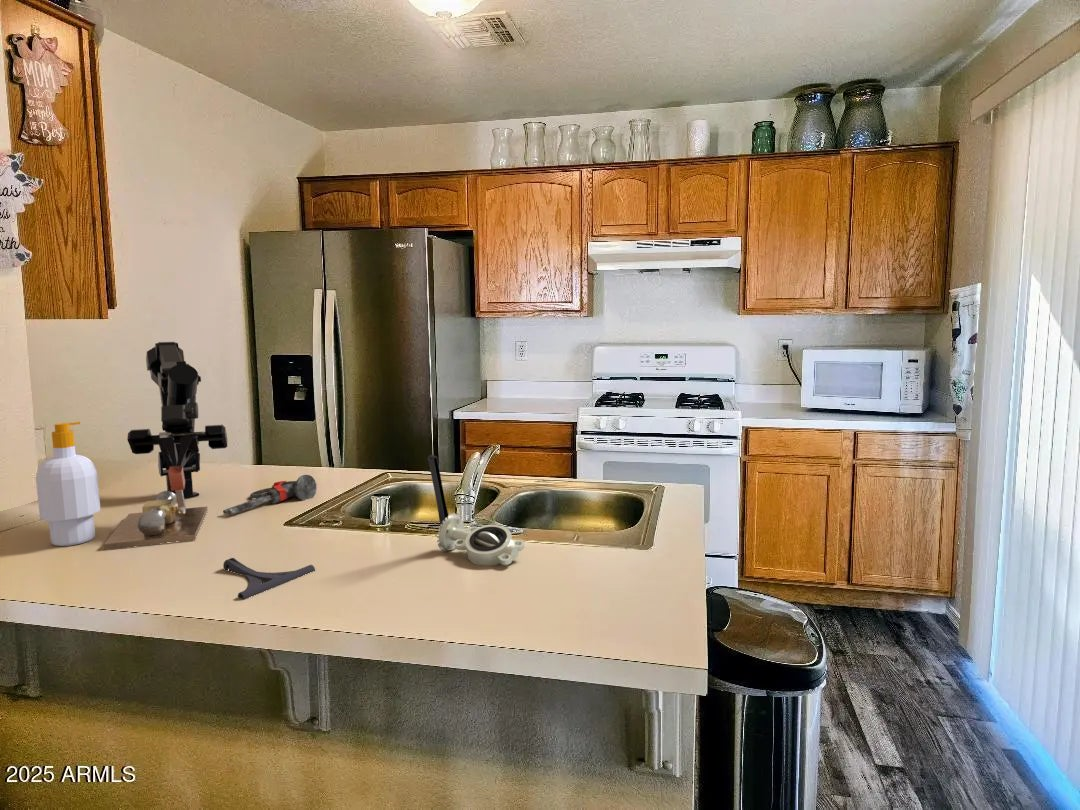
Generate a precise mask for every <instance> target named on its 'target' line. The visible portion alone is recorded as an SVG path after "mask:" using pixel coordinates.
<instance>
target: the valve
mask: <svg viewBox="0 0 1080 810" xmlns="http://www.w3.org/2000/svg"><path fill="white" fill-rule="evenodd" d="M317 488H318V487H317V482H316V479H315V478H314V477H313V476H311V475H310V474H303V475H300V476H299V477H297V479H296V480H291V481H290V480H289V481H287V480H280V481H276V482H273V484H272V486H271V487H268V488H263V489H259V490H256V491H253V492H251V493H250V494H249V497H250V498H252V499H251V500H249V501H246V502H242V503H241V504H237V505H235V506H232V507H229V508H226V509H223V511H222V512H223V514H224V515H227V514H228V516H233V515H235V514H238V513H240V512H242V511H245V510H249V509H250V508H253V507H256V506H259V505H262V504H264V503H267V502H268V503H270V504H279V503H283V502H284V501H286V500H287V499H289V498H290V497H291V498H292V497H294V496H296V497H297V498H298V500H300V501H306V499H307V500H311V499H313V498H314V497H315V495H316V493H317ZM282 501H283V502H282Z"/></svg>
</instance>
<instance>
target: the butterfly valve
mask: <svg viewBox="0 0 1080 810" xmlns="http://www.w3.org/2000/svg"><path fill="white" fill-rule="evenodd" d="M427 460H428V465H429V470H430V471H429V472H430V476H431V481H432V485H433V490H434V495H435V501H436V505H437V506H436V507H437V508H436V509H437V512H438V513H437V514H438V519H439V528H438V532H437V535H438V536H437V535H436V538H437V541H436V542H437V546H438V548H439V550H441V551H442V552H447V551H452V550H453V551H454V549H456V551H466V554H467V559H468V560H469V561H470V562H471V563H473V564H475V565H479V566H496V565H499V564H500V565H503V566H508V565H510V564H511V563H512V562H513V560H516V558H517V557H518V556H519V552H522V551H523V550H524V549H525V542H524V541H523V540H522V539H513V537H512V536H513V535H512V533H511V531H510V530H509V529H508V528H506V527H505V526H503V525H500V524H487V525H482V526H479V527H478V526H476V525H475V526H470V527H469V528H468V529H467V530H465V523H464V520H463V519H462V518H461V517H460V515H459V514H457V513H455V512H454V513H450V514H449V511H448V507H447V504H446V503H447V502H446V497H445V491H444V487H443V482H442V477H441V472H440V471H441V470H440V467H439V466H440V465H439V460H438V456H437V455H433V454H430V455H428V457H427Z"/></svg>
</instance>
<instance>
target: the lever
mask: <svg viewBox="0 0 1080 810" xmlns="http://www.w3.org/2000/svg"><path fill="white" fill-rule="evenodd" d="M168 475H169V481H170V486H171V491H174V490H175V493H176V498H177V504H178V505H177V507H178V513H179V514H186V508H187V505H186V501H185V498H184V495H183V490H184V487H185V478H184V472H183V466H171V467H169V472H168Z"/></svg>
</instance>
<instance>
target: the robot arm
mask: <svg viewBox="0 0 1080 810" xmlns="http://www.w3.org/2000/svg"><path fill="white" fill-rule="evenodd" d="M145 355H146V356H145V362H146V371H149V372H150V379H151V380H152V381H153V382H154V383H155V384H156V385H157V386H158V388H159V394H160V403H161V407H160V410H161V411H160V412H161V418H160V421H161V422H162V424H161V429H162V431H159V432H158V434H156V435H155V434H153V435H152V432H151V429H150V428H141V429H140V428H139V429H138V428H137V429H131V430H130V431H129V432H128V433H127V439H126V440H127V443H128V445H129V448H130V450H131V453H132V454H135V455H145V454H150V453H152V452H153V451H154V449H155V446H158V447H159V450H160V451H158V457H157V459H158V462H157V463H158V464H157V465H158V474H159V475H160V477H164V476H165V478H166V491H171V486H170V481H169V475H168V472H169V467H171V466H183V472H184V478H185V487H184V490H183V495H184V499H188V498H189V499H190V498H193V497H197V496H200V493H199V492H196V491H194V488H193V475H192V473H198V472H199V471H201V466H200V465H201V464H200V463H201V454H200V448H199V443H200V442H208V445H207V446H208V448H210V449H212V450H217V449H218V450H219V449H226V448H227V447H228V435H227V430H226V429H227V428H226V426H224V425H223V424H213V425H211V424H210V425H209V424H208V425H205V426H204V431H195V425H196V423H195V422H196V419H199V404H198V402H197V396H196V395H197V391H198V385H200V383H201V382H202V376H200V375H199V372H198V371H197V370H196V369H195V367H194V366H191V365H190V364H189V363H187V361H186V360H185V355H184V350H183V349H182V348H181V347H179V343H178V342H175V341H159V342H156V343H154V346H153V347H152V348H151V349H149V350H147V351H146V354H145ZM171 492H173V493H174V494H176V493H175V490H174V491H171Z"/></svg>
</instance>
